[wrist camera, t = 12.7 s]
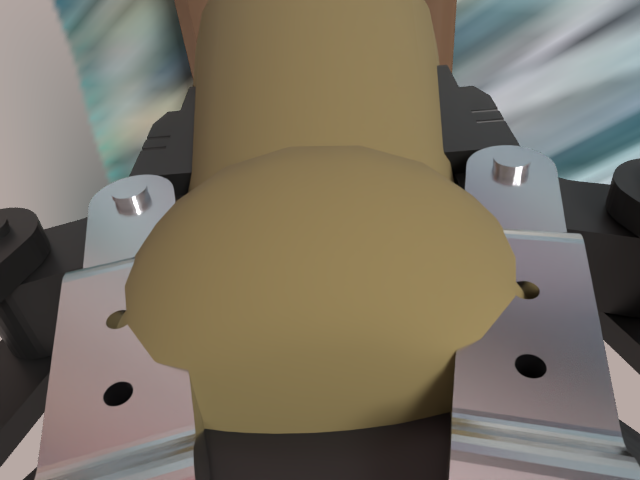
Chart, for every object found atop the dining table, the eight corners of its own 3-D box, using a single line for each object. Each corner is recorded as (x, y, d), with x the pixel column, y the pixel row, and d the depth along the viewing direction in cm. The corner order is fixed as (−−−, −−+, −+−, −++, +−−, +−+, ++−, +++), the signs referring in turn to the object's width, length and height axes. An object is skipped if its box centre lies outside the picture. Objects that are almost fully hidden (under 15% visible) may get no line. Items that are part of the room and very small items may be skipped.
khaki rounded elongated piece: (362, 198, 17) (422, 630, 8) (165, 117, 15) (-27, 560, 6) (486, 9, 13) (810, 406, 5) (249, -124, 12) (89, 126, 3)
